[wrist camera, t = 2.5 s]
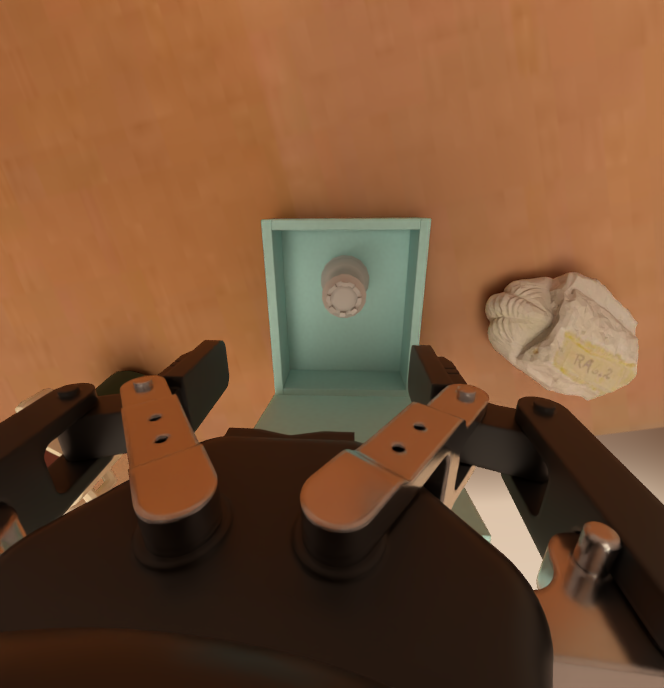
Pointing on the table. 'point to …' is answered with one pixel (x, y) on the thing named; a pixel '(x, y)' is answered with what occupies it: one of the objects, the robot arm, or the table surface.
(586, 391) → the fossil replica
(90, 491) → the character mug
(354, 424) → the green hinged lid
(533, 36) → the table surface
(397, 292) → the storage box
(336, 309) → the rook chess piece
